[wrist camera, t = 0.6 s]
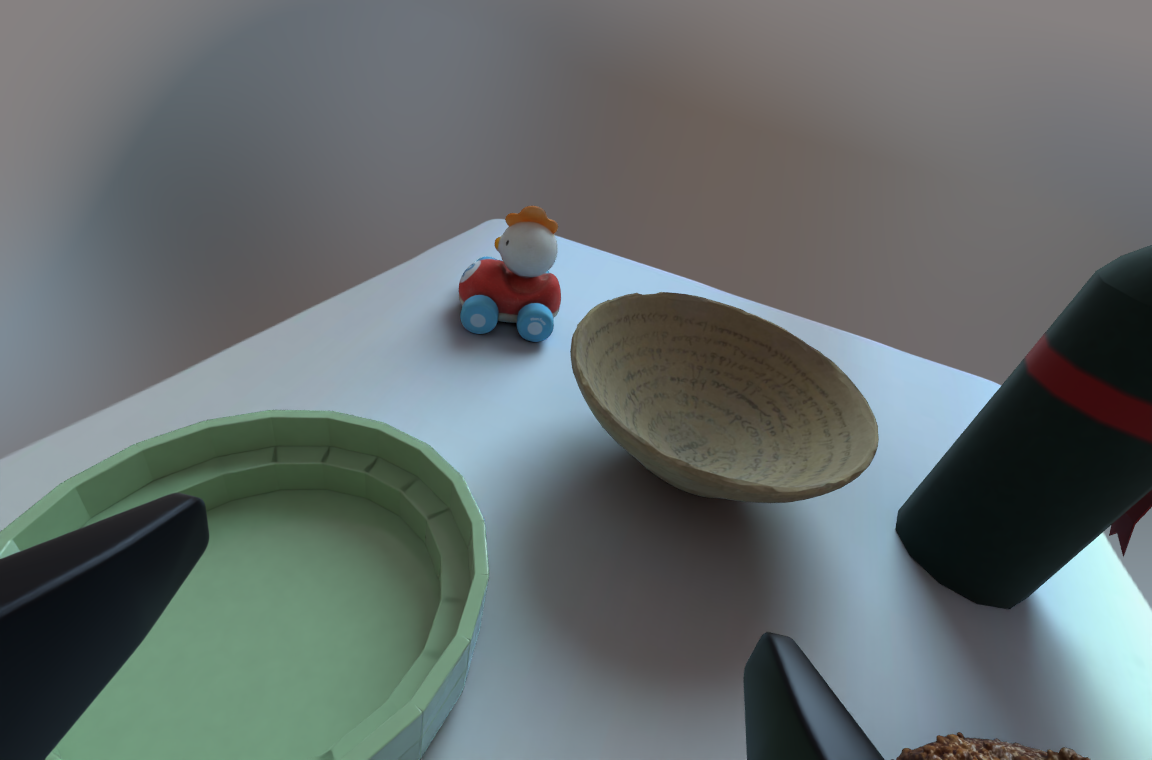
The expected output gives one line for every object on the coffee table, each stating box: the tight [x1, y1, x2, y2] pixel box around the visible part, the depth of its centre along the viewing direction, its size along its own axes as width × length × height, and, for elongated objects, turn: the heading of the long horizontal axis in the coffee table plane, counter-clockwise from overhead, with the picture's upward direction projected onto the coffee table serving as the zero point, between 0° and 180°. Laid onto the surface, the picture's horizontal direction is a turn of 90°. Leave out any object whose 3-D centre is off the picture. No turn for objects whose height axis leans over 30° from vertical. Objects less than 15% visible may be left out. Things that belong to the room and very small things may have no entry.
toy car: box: [459, 206, 561, 342], centre depth 45 cm, size 9×9×10 cm
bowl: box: [570, 292, 879, 503], centre depth 34 cm, size 18×18×8 cm
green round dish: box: [0, 410, 489, 760], centre depth 22 cm, size 17×17×4 cm
